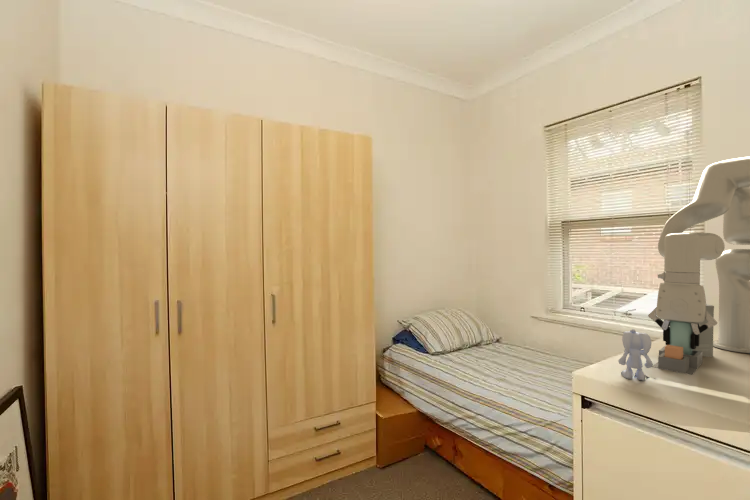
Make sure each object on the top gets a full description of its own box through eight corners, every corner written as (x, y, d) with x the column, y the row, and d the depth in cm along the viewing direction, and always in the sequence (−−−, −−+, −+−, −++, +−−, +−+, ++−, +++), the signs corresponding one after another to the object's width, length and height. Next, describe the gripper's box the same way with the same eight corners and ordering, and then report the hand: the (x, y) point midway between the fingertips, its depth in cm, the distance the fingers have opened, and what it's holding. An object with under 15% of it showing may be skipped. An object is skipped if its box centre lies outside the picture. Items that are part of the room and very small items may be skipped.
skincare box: (696, 353, 114) (697, 301, 114) (715, 360, 107) (716, 304, 107) (666, 352, 115) (667, 300, 115) (683, 359, 108) (684, 304, 108)
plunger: (667, 363, 99) (667, 344, 99) (682, 366, 96) (683, 347, 96) (664, 366, 97) (664, 346, 97) (680, 369, 94) (680, 349, 94)
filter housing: (665, 359, 108) (665, 345, 108) (702, 366, 102) (702, 351, 102) (651, 370, 98) (652, 355, 98) (691, 378, 92) (692, 362, 92)
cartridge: (671, 358, 105) (671, 318, 105) (693, 362, 102) (694, 321, 102) (667, 361, 102) (668, 321, 102) (690, 365, 99) (691, 323, 99)
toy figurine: (648, 376, 93) (648, 327, 93) (654, 384, 88) (655, 332, 88) (615, 372, 96) (616, 324, 96) (619, 379, 91) (620, 329, 90)
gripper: (640, 277, 106) (639, 342, 106) (722, 281, 93) (721, 355, 93) (647, 276, 111) (646, 338, 111) (726, 280, 98) (725, 350, 98)
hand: (680, 345), depth 102 cm, fingers closed on cartridge, 4 cm apart
